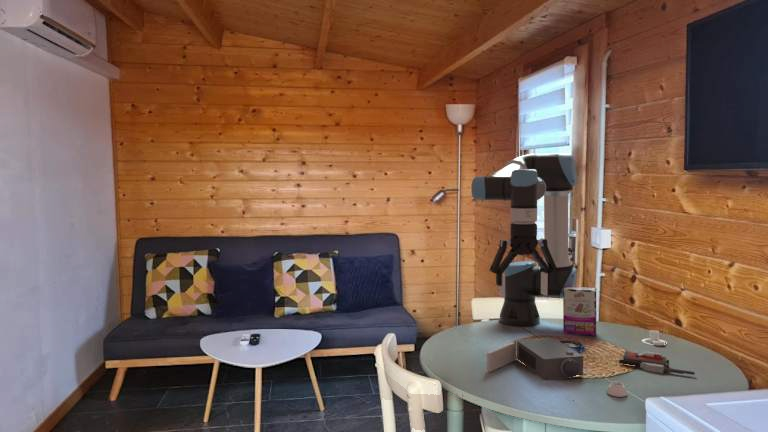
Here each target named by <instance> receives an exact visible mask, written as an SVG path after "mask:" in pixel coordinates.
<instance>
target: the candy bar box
mask: <svg viewBox="0 0 768 432" xmlns="http://www.w3.org/2000/svg"><path fill="white" fill-rule="evenodd" d="M562 299H563V303H562V304H563V306H562V307H563V313H562V314H563V316H562V318H563V321H562V322H563V324H562V325H563V326H562V329H563V331H562V332H563V334H569V335H580V336H589V337H590V336H593V337H596V335H597V287H586V286H585V287H583V286H582V287H581V286H575V287H567V286H565V287H564V289H563V298H562Z"/></svg>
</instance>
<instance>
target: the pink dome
mask: <svg viewBox="0 0 768 432" xmlns="http://www.w3.org/2000/svg"><path fill="white" fill-rule="evenodd" d="M606 394H607V395H609V396H612V397H617V398H623V397H626V396H627V395H628V391H627V389H626V387H625V385H624V383H623V382H621V381H615V380H613V381H610V384H609V385H608V387H607V388H606Z"/></svg>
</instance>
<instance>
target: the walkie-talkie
mask: <svg viewBox="0 0 768 432" xmlns="http://www.w3.org/2000/svg"><path fill="white" fill-rule="evenodd" d="M618 363H619V364H622V365H623V364H629V365H635V366H636V367H635V368H637V367H638V368H637V369H639V368H640V369H641V370H644V371H646V372H649V373H650V372H651V373H658V374H659V373H660V374H664V373H675V374H681V375H684V374H685V375H696V374H695V371H690V370H684V369H677V368H670V360H669V359H667V357H666V356H663V354H662V353H660V352H656V351H655V352H654V351H650V350H649V351H648V350H646V351H644V352H641V353H640V352H639V351H638V350H635V352H630V351H625V352H624V354H623V359H619V360H618Z"/></svg>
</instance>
